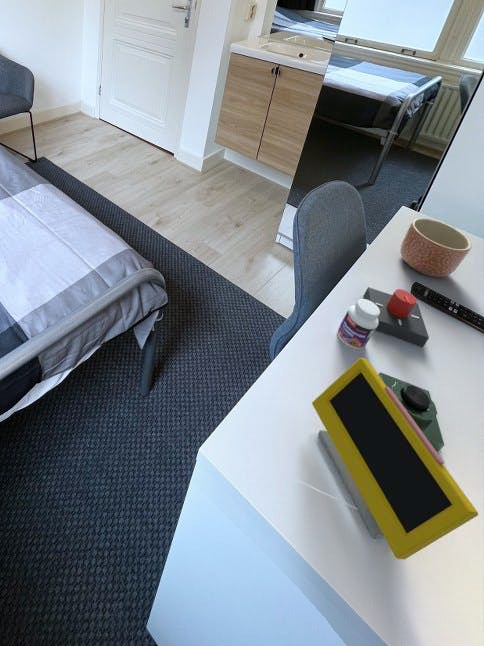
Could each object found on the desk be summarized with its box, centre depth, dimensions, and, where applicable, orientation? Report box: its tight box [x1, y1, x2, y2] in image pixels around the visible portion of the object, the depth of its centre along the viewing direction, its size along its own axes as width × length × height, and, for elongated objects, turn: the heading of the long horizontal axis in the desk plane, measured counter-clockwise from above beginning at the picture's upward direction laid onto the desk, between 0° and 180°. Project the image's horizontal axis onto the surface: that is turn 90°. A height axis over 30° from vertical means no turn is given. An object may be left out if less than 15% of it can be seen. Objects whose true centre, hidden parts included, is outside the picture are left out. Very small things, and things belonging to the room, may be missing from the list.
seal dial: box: [387, 288, 418, 318], centre depth 91 cm, size 4×4×5 cm
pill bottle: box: [336, 298, 380, 350], centre depth 86 cm, size 5×5×10 cm
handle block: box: [362, 286, 430, 348], centre depth 93 cm, size 10×10×3 cm
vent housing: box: [377, 371, 445, 453], centre depth 74 cm, size 10×8×4 cm
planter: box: [399, 217, 473, 278], centre depth 108 cm, size 12×12×11 cm
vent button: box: [402, 384, 430, 412], centre depth 73 cm, size 4×4×2 cm
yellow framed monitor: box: [311, 357, 479, 560], centre depth 62 cm, size 20×8×16 cm, turn 5°
